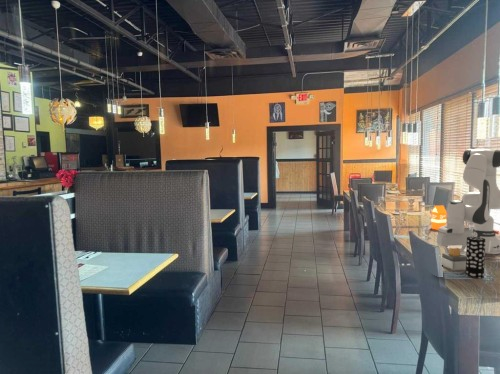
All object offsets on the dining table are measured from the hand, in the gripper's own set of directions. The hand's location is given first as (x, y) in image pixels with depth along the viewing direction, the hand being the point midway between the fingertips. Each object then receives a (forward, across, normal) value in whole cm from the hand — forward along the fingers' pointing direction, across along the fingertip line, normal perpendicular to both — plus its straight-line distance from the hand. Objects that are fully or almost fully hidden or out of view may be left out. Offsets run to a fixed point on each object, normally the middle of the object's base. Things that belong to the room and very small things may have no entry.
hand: (454, 252), depth 214 cm
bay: (+8, -3, 0) cm, 9 cm away
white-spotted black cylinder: (+8, +1, +17) cm, 19 cm away
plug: (+4, 0, 0) cm, 4 cm away
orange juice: (+9, -60, -99) cm, 116 cm away
